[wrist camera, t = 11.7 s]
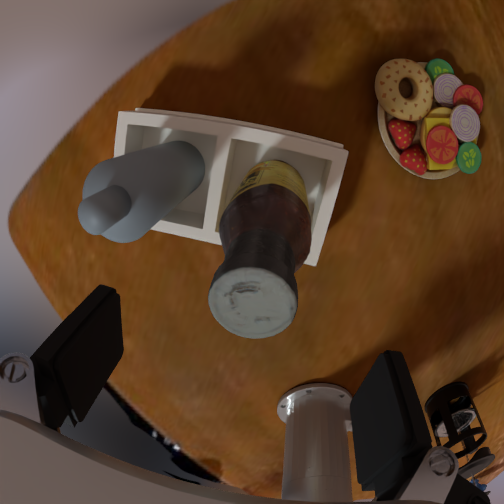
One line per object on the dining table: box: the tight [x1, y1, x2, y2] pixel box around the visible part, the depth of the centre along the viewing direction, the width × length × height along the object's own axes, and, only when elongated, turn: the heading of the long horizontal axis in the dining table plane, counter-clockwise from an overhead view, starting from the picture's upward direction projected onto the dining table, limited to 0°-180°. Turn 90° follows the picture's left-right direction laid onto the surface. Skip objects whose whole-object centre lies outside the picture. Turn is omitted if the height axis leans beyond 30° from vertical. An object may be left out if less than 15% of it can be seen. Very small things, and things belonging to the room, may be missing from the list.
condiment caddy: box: [78, 108, 349, 266], centre depth 24 cm, size 22×12×17 cm, turn 79°
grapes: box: [471, 479, 487, 491], centre depth 59 cm, size 12×7×12 cm, turn 48°
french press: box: [425, 382, 495, 495], centre depth 33 cm, size 12×9×23 cm
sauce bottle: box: [208, 159, 312, 338], centre depth 22 cm, size 7×6×20 cm
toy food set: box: [375, 58, 483, 179], centre depth 25 cm, size 13×13×3 cm
